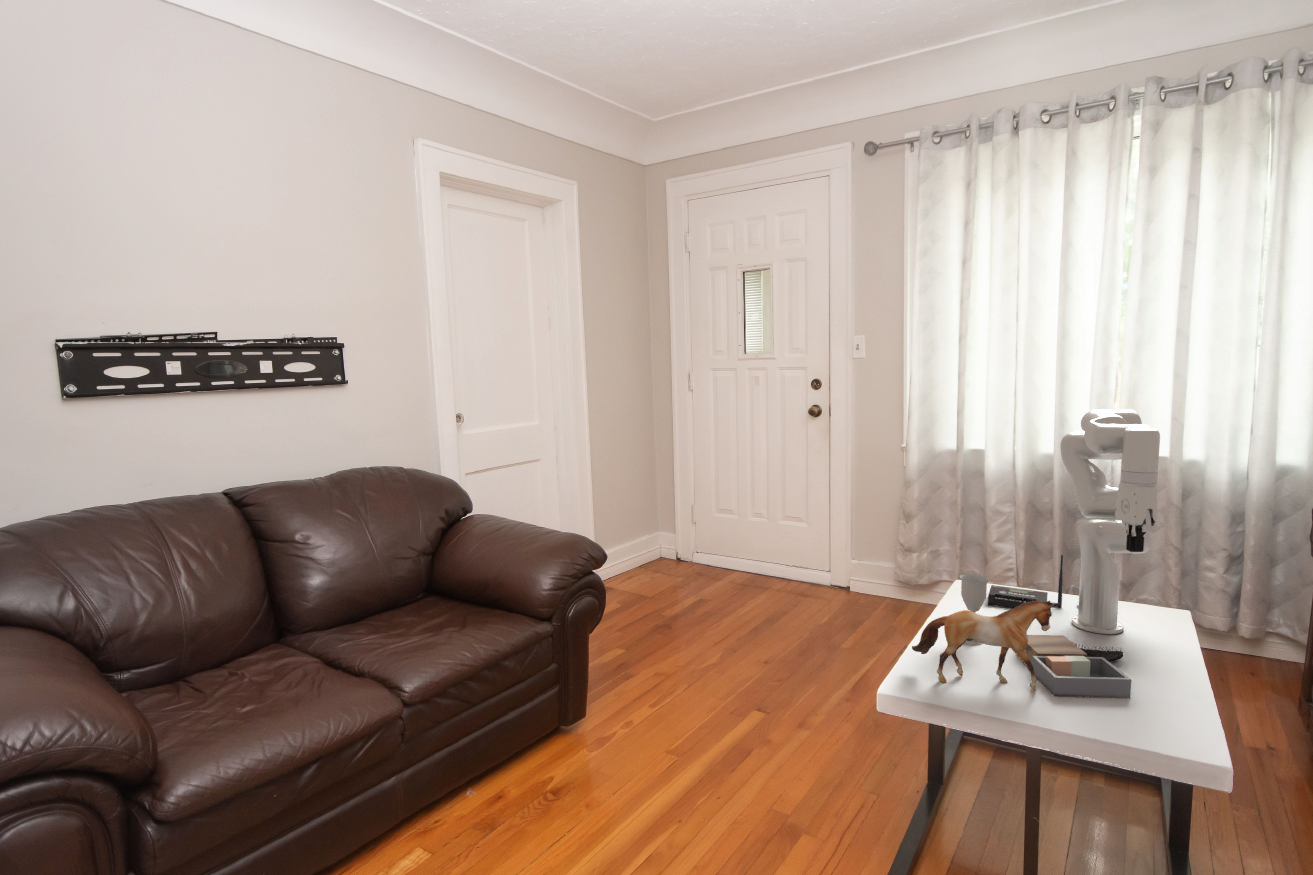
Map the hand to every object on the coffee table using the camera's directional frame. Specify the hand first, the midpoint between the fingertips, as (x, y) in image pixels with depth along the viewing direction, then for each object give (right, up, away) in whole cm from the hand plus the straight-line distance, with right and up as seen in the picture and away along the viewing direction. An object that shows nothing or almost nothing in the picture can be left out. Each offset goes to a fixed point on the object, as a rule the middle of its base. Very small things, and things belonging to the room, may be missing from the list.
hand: (1134, 550), depth 175 cm
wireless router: (-3, -25, +46) cm, 52 cm away
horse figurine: (-40, -31, -3) cm, 51 cm away
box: (-19, -31, -8) cm, 37 cm away
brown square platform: (-19, -29, +4) cm, 35 cm away
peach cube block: (-22, -27, -4) cm, 35 cm away
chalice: (-32, -28, +18) cm, 46 cm away
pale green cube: (-17, -27, -4) cm, 32 cm away
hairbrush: (-11, -29, +11) cm, 33 cm away
